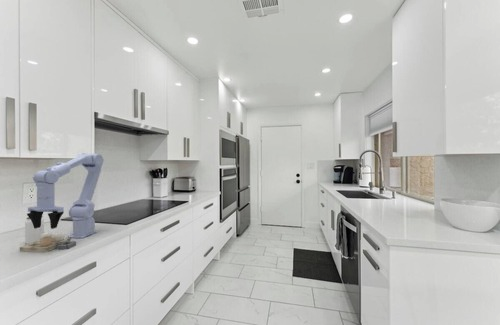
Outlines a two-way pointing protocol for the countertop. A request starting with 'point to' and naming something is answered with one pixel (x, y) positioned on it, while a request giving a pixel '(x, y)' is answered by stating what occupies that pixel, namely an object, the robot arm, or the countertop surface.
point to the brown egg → (46, 241)
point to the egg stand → (66, 245)
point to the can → (33, 231)
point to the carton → (38, 248)
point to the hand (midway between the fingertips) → (45, 228)
